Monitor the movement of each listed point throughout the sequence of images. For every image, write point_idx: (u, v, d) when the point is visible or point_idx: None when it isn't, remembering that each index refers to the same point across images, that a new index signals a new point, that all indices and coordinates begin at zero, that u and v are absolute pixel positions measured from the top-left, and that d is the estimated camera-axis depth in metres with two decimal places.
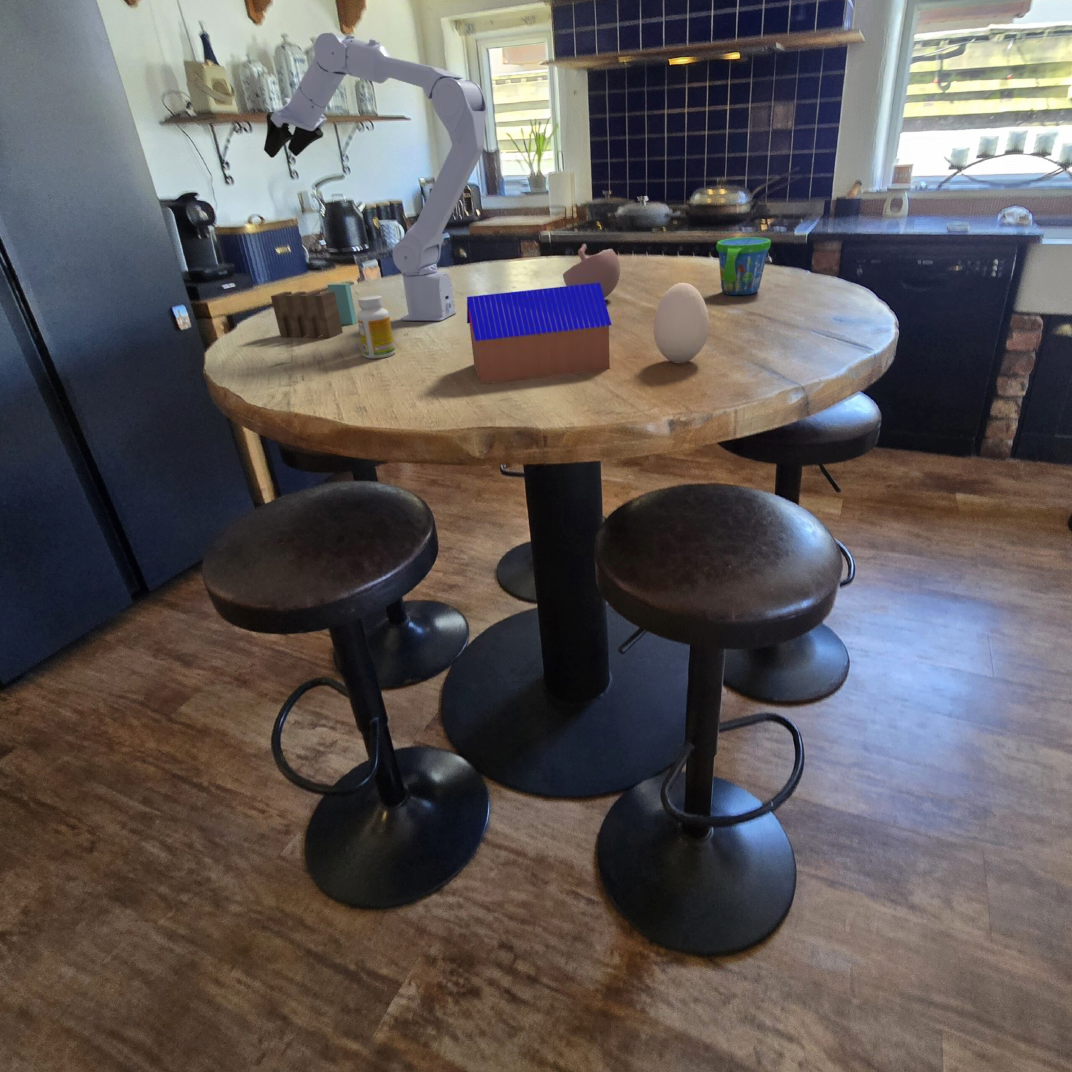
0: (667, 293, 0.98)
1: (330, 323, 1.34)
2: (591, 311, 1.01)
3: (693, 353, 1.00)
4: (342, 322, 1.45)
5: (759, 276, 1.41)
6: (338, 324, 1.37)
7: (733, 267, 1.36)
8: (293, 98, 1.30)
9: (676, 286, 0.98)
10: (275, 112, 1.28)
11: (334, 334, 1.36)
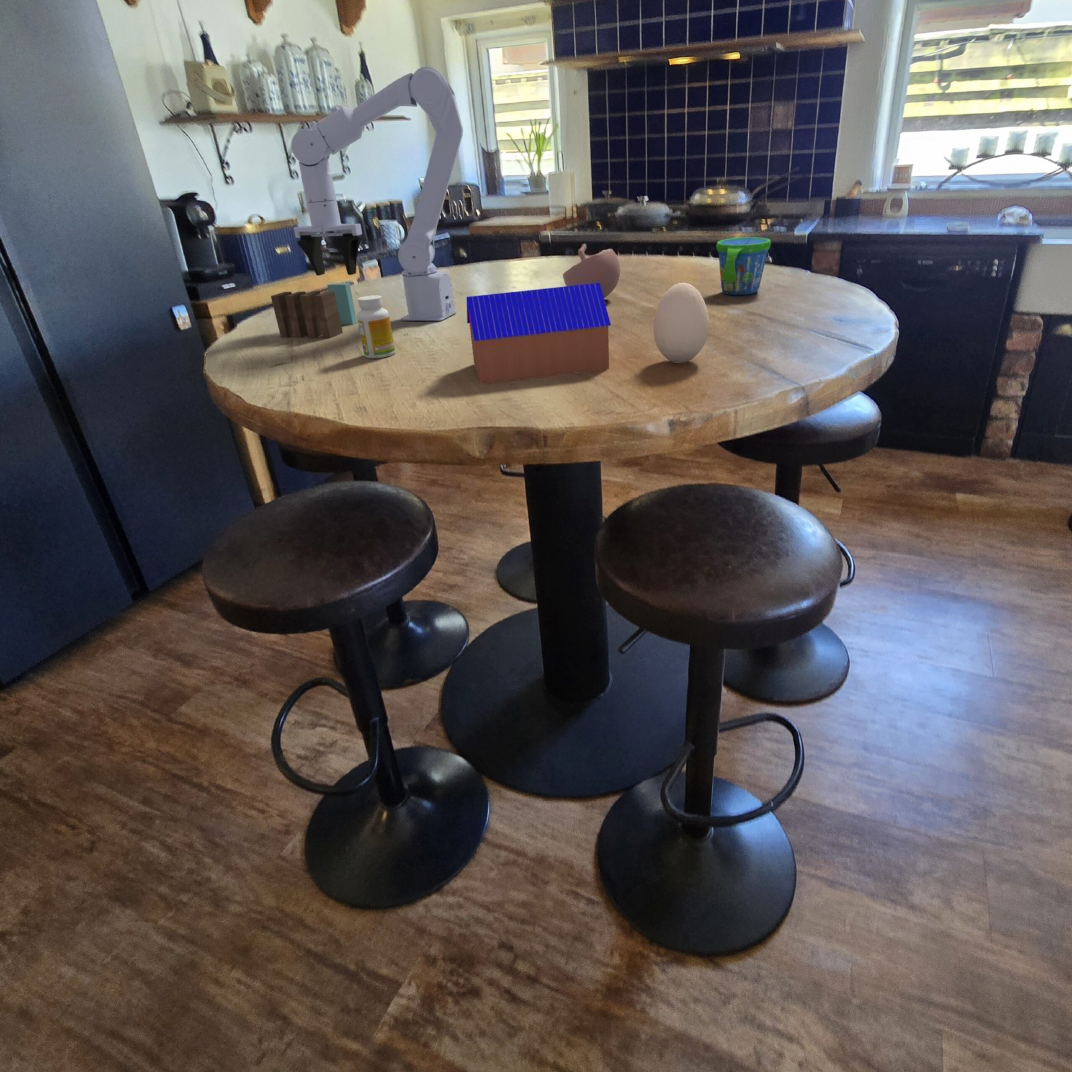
0: (667, 294, 0.98)
1: (330, 323, 1.34)
2: (590, 311, 1.01)
3: (693, 353, 1.00)
4: (342, 322, 1.45)
5: (759, 276, 1.41)
6: (338, 325, 1.37)
7: (733, 267, 1.36)
8: (329, 214, 1.34)
9: (676, 286, 0.98)
10: (356, 225, 1.34)
11: (334, 334, 1.36)
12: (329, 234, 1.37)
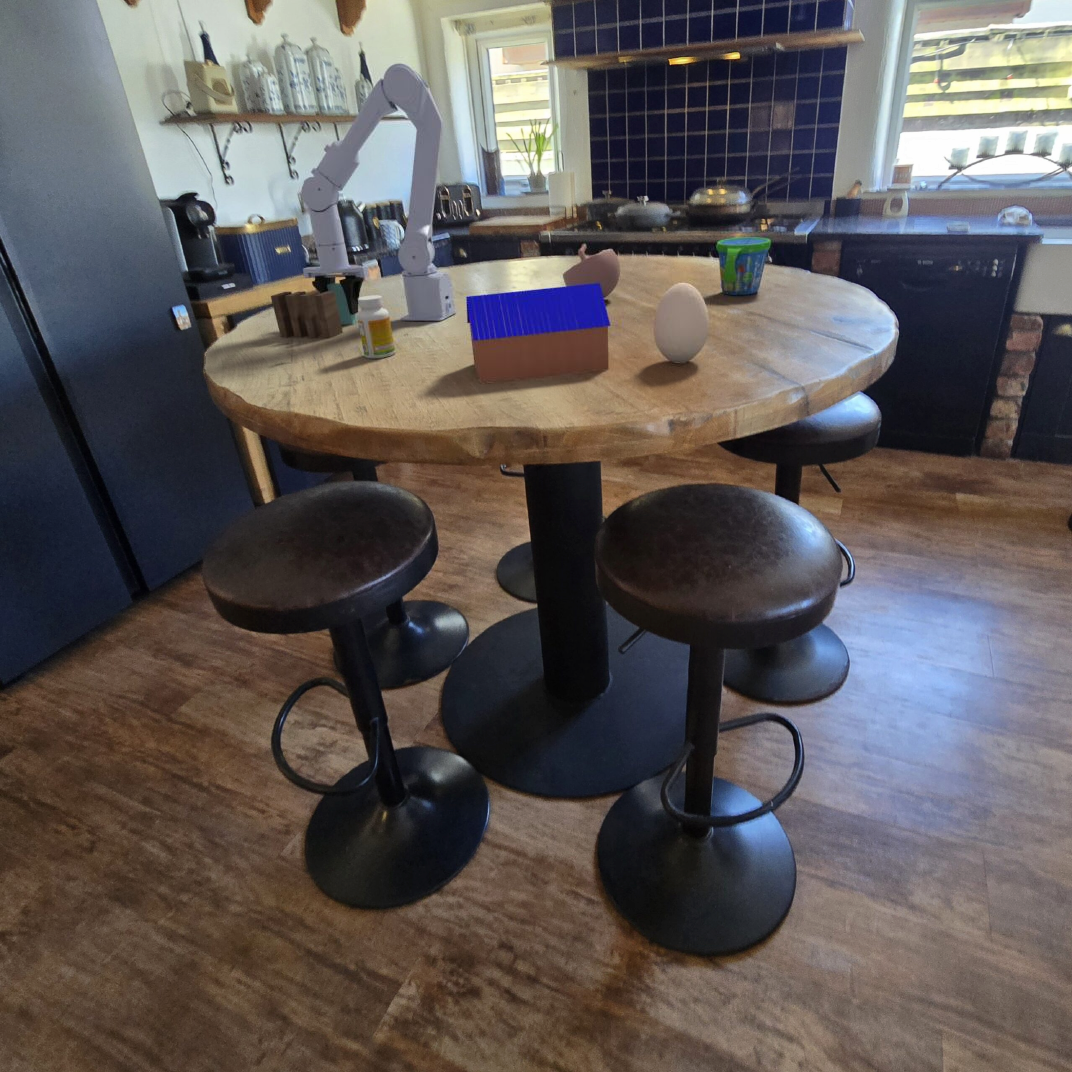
0: (667, 293, 0.98)
1: (330, 323, 1.34)
2: (590, 311, 1.00)
3: (693, 353, 1.00)
4: (342, 322, 1.45)
5: (759, 276, 1.41)
6: (338, 325, 1.37)
7: (733, 267, 1.36)
8: (337, 257, 1.37)
9: (676, 286, 0.98)
10: (363, 268, 1.38)
11: (334, 334, 1.36)
12: (337, 275, 1.41)
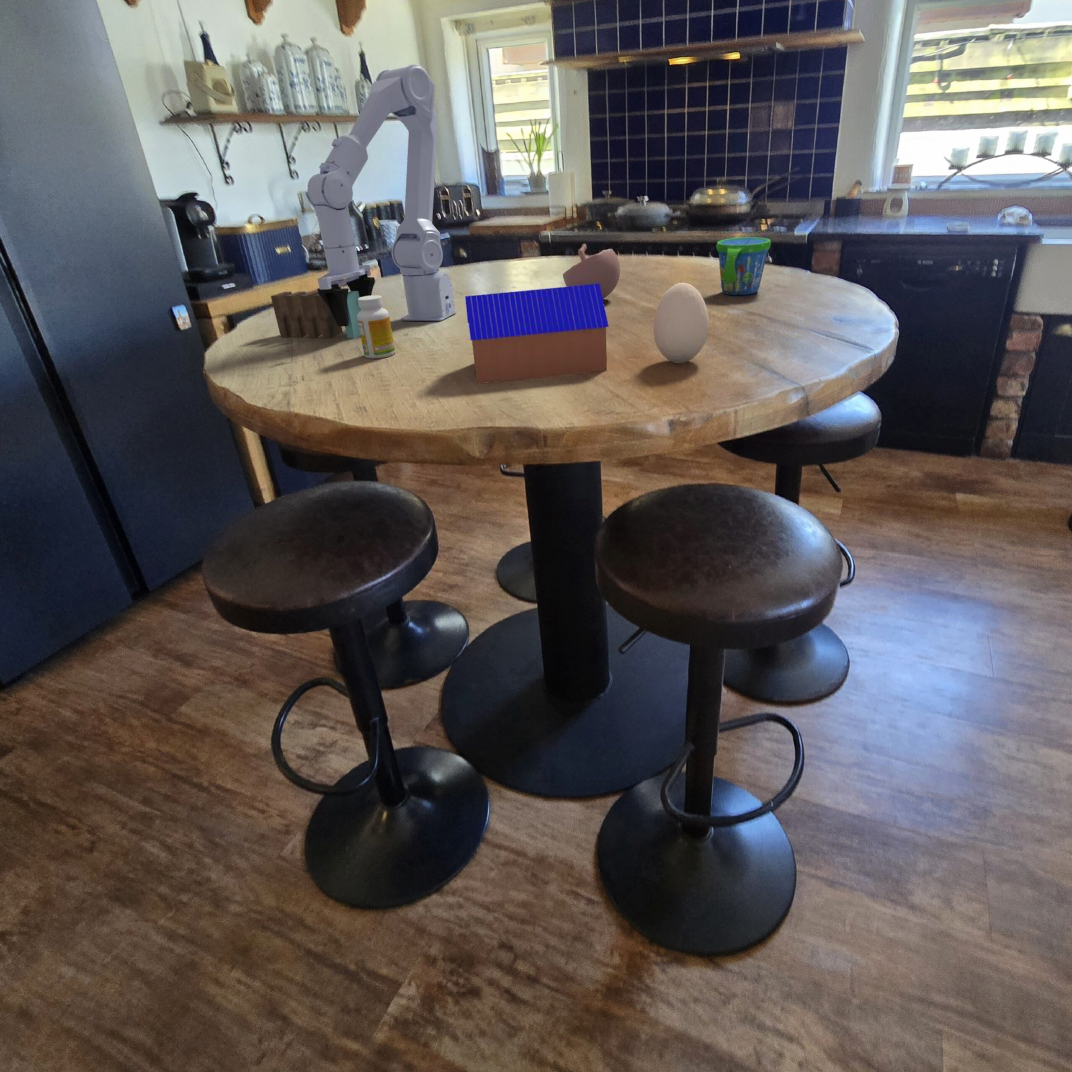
0: (667, 294, 0.98)
1: (330, 323, 1.34)
2: (588, 312, 1.00)
3: (693, 353, 1.00)
4: (359, 334, 1.34)
5: (759, 276, 1.41)
6: None
7: (733, 267, 1.36)
8: None
9: (676, 286, 0.98)
10: None
11: (334, 334, 1.36)
12: (349, 279, 1.30)
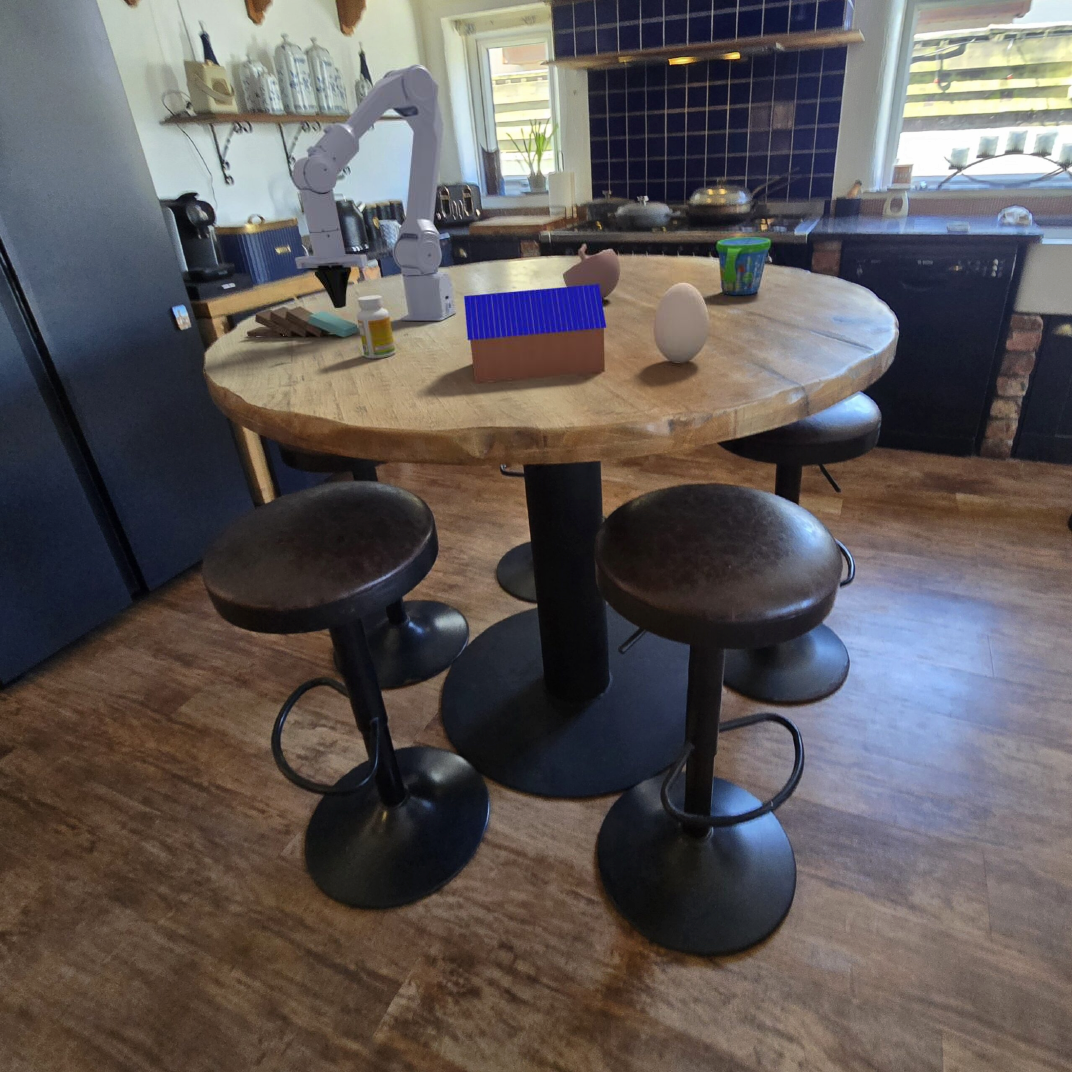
0: (667, 293, 0.98)
1: None
2: (586, 313, 1.00)
3: (693, 353, 1.00)
4: (348, 326, 1.34)
5: (759, 276, 1.41)
6: None
7: (733, 267, 1.36)
8: (332, 245, 1.26)
9: (676, 286, 0.98)
10: (361, 257, 1.26)
11: None
12: (333, 265, 1.29)
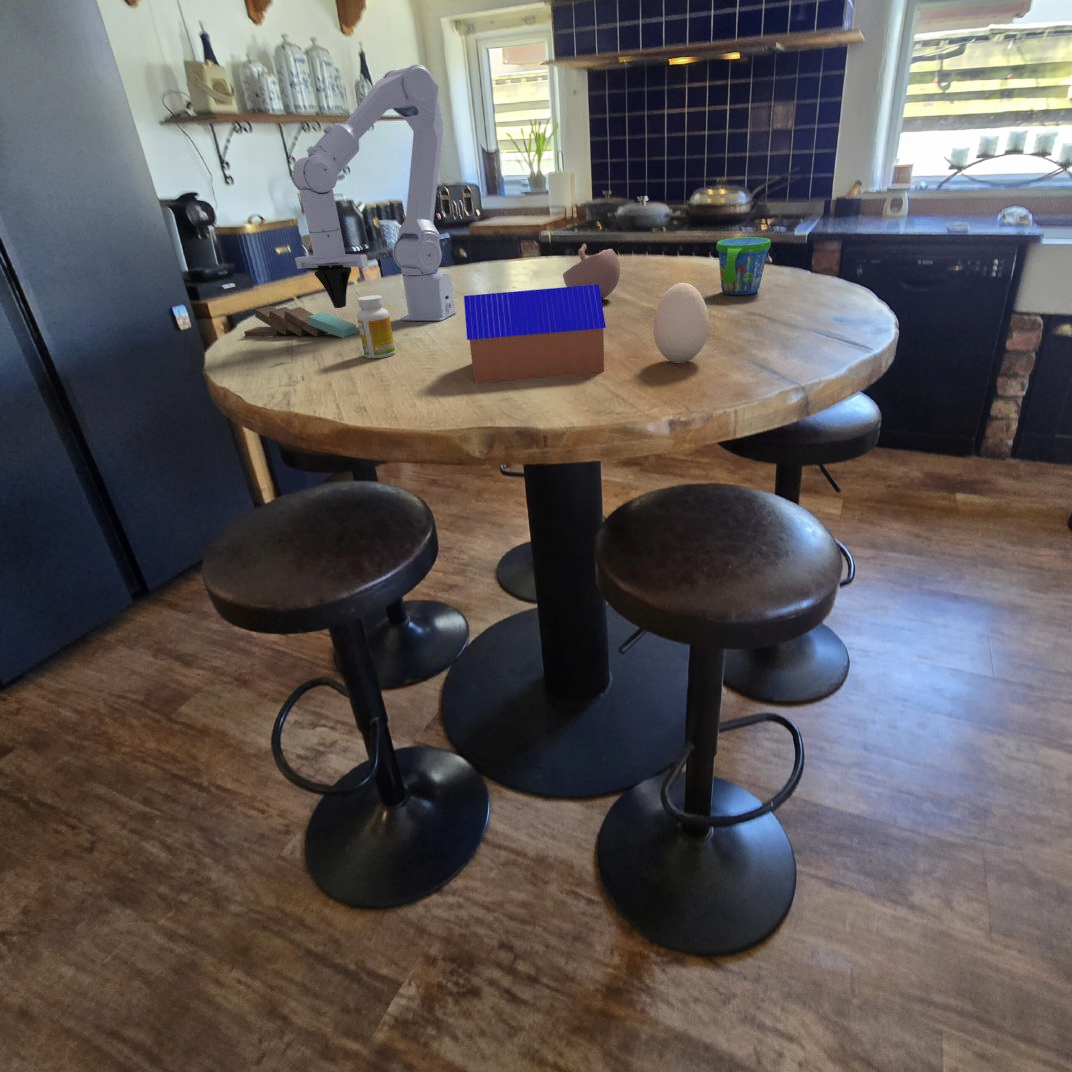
0: (667, 294, 0.98)
1: None
2: (586, 313, 1.00)
3: (693, 353, 1.00)
4: (347, 327, 1.34)
5: (759, 276, 1.41)
6: None
7: (733, 267, 1.36)
8: (332, 245, 1.26)
9: (676, 286, 0.98)
10: (361, 257, 1.26)
11: None
12: (333, 265, 1.29)
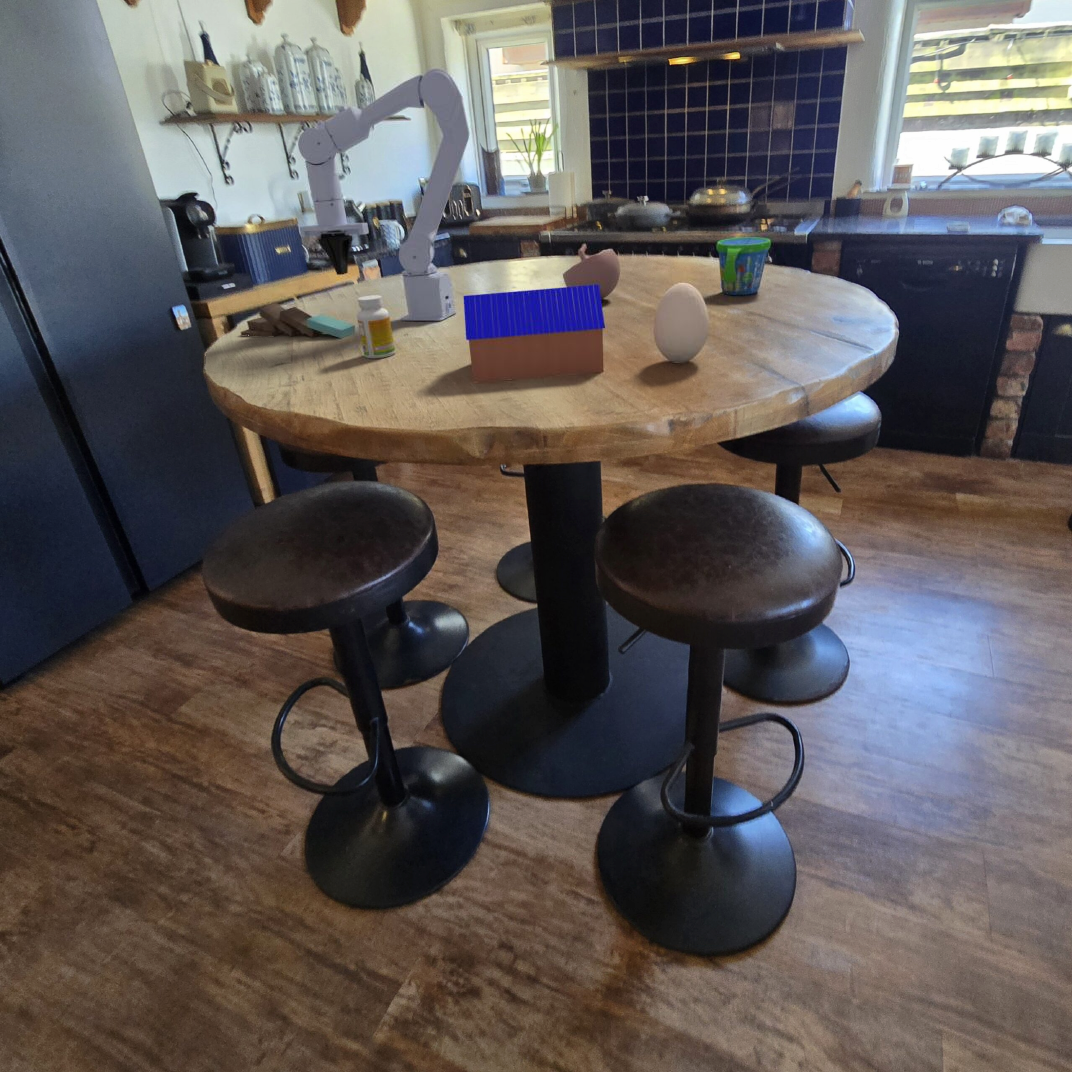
0: (667, 293, 0.98)
1: (306, 322, 1.37)
2: (585, 313, 1.00)
3: (693, 353, 1.00)
4: (345, 327, 1.35)
5: (759, 276, 1.41)
6: None
7: (733, 267, 1.36)
8: (335, 213, 1.33)
9: (676, 286, 0.98)
10: (363, 224, 1.34)
11: None
12: (335, 233, 1.37)
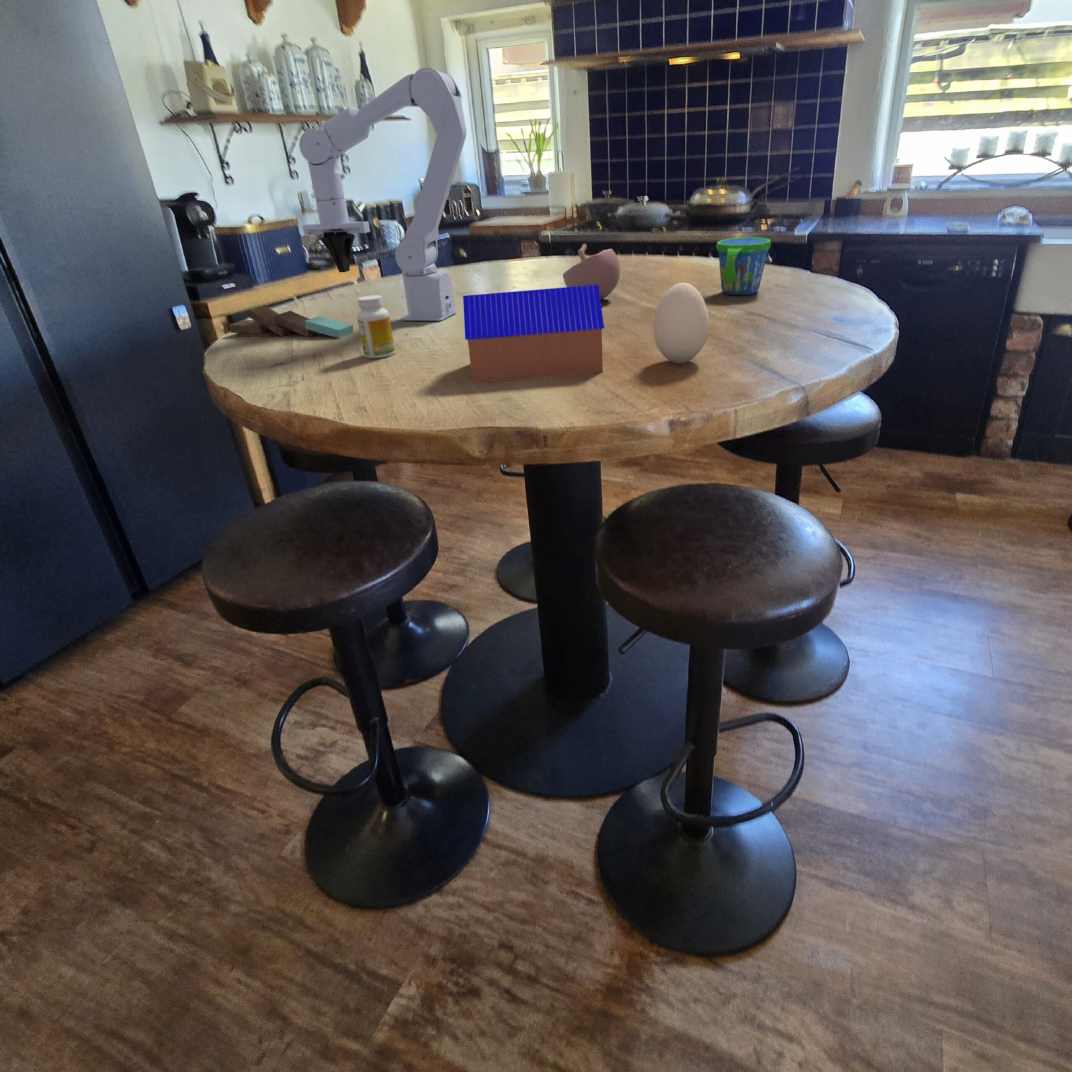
0: (667, 293, 0.98)
1: (301, 323, 1.38)
2: (585, 313, 1.00)
3: (693, 353, 1.00)
4: (343, 327, 1.35)
5: (759, 276, 1.41)
6: None
7: (733, 267, 1.36)
8: (337, 212, 1.36)
9: (676, 286, 0.98)
10: (364, 223, 1.36)
11: None
12: (337, 232, 1.39)
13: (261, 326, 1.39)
